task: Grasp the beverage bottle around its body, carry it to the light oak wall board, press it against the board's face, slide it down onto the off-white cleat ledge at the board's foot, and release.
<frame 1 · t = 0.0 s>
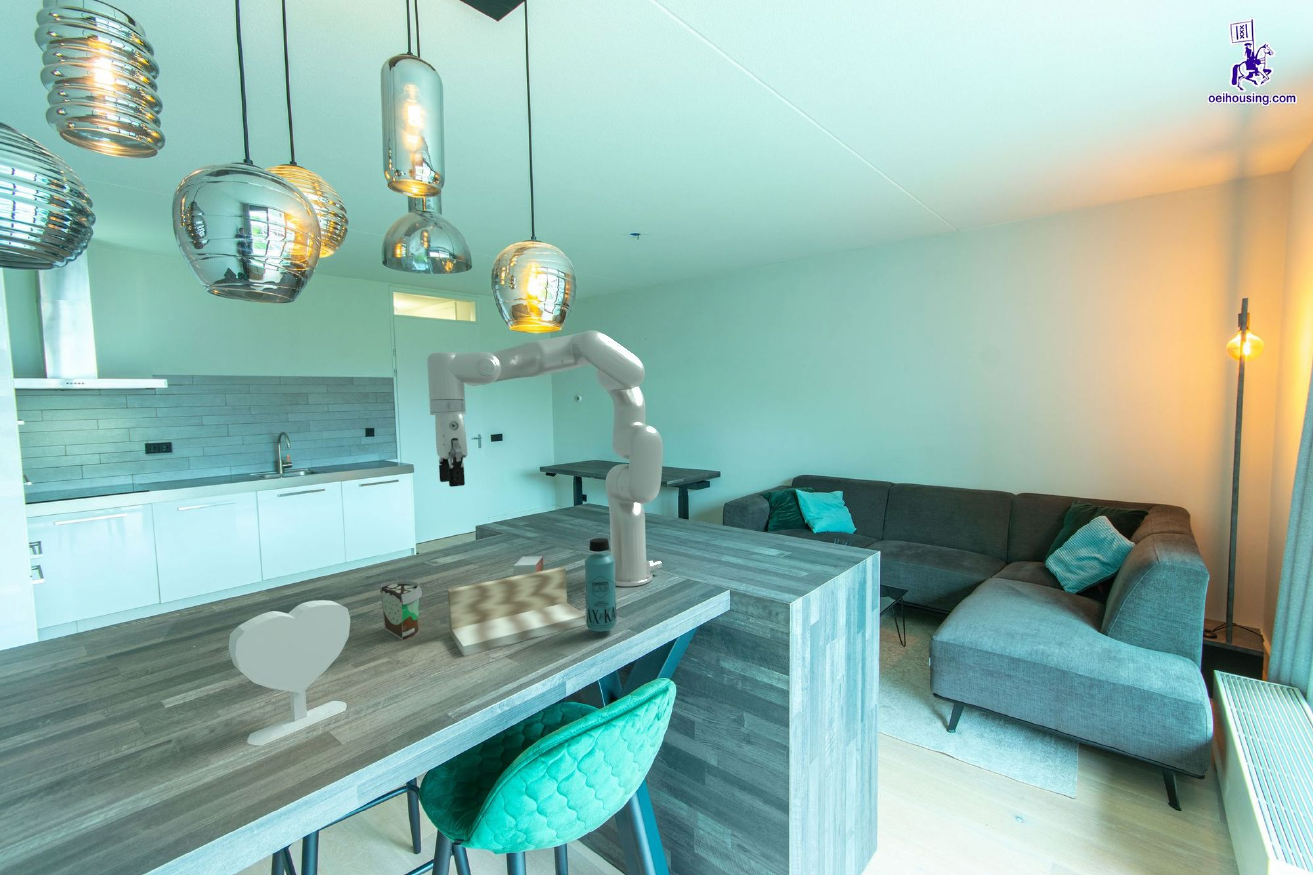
hand: (452, 483, 127), 31 cm above the kitchen island, tool pointing down, fingers open, 9 cm apart
food container: (407, 630, 123), on the kitchen island
small box: (530, 603, 138), on the kitchen island
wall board: (520, 631, 120), on the kitchen island
heart sculpture: (299, 722, 88), on the kitchen island
beverage bottle: (602, 633, 118), on the kitchen island
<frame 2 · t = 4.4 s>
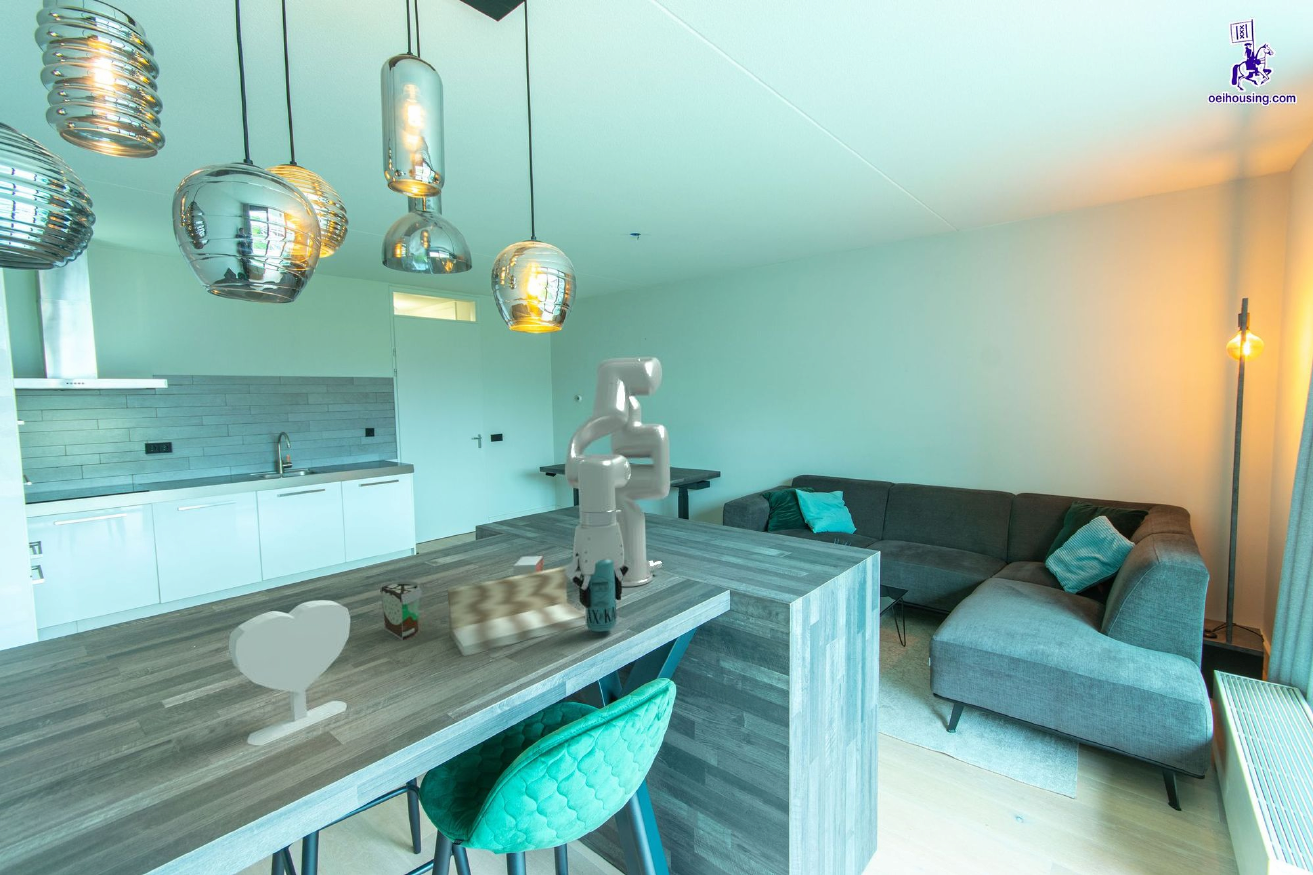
hand: (601, 601, 118), 7 cm above the kitchen island, tool pointing down, fingers closed on beverage bottle, 6 cm apart
beverage bottle: (602, 633, 118), on the kitchen island, touching gripper
everything else where it was.
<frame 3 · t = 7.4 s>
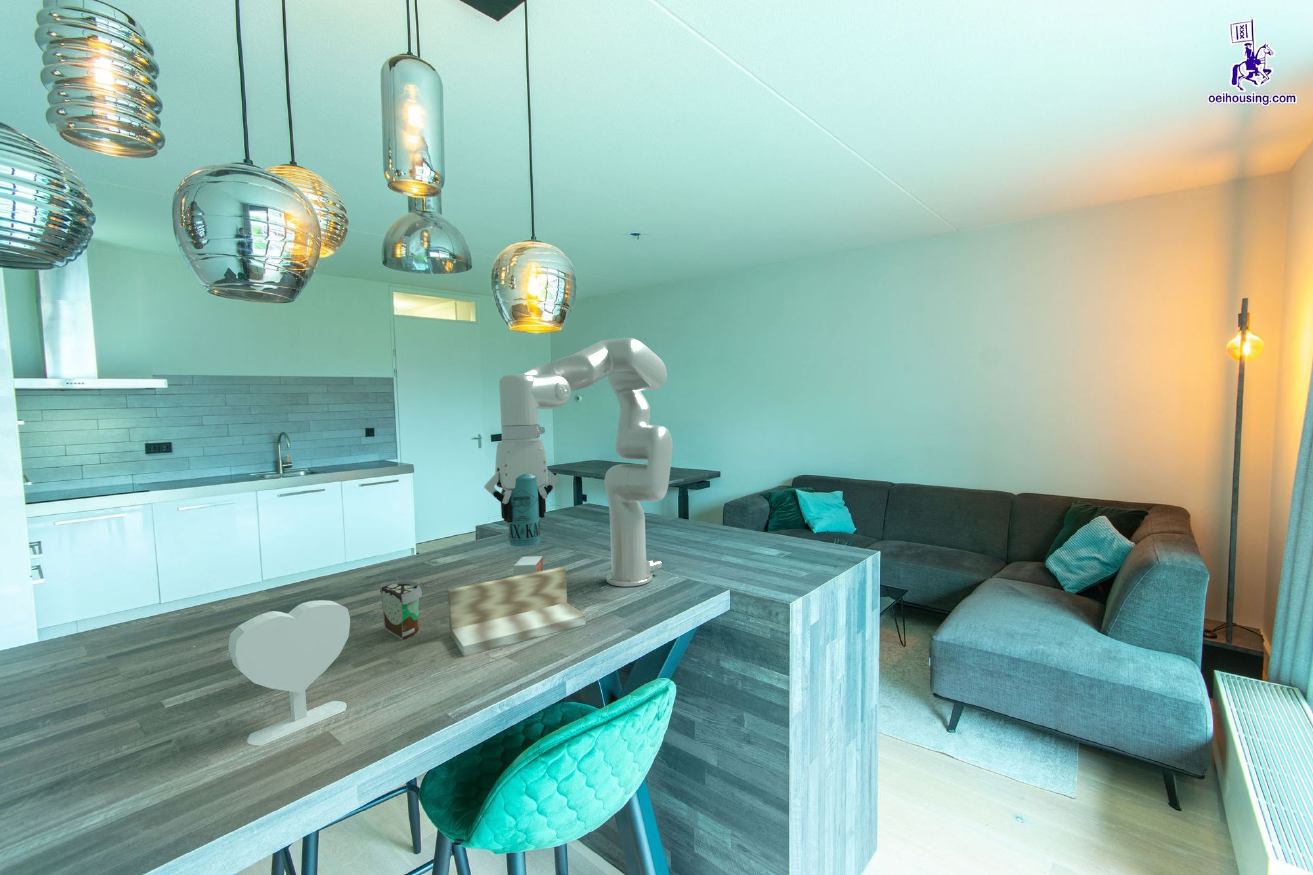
hand: (524, 518, 117), 25 cm above the kitchen island, tool pointing down, fingers closed on beverage bottle, 6 cm apart
beverage bottle: (525, 550, 118), point 18 cm above the kitchen island, touching gripper
everything else where it was.
when the fingers open (9 cm above the kitchen island, at t = 10.7 s): beverage bottle stays where it is, resting on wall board.
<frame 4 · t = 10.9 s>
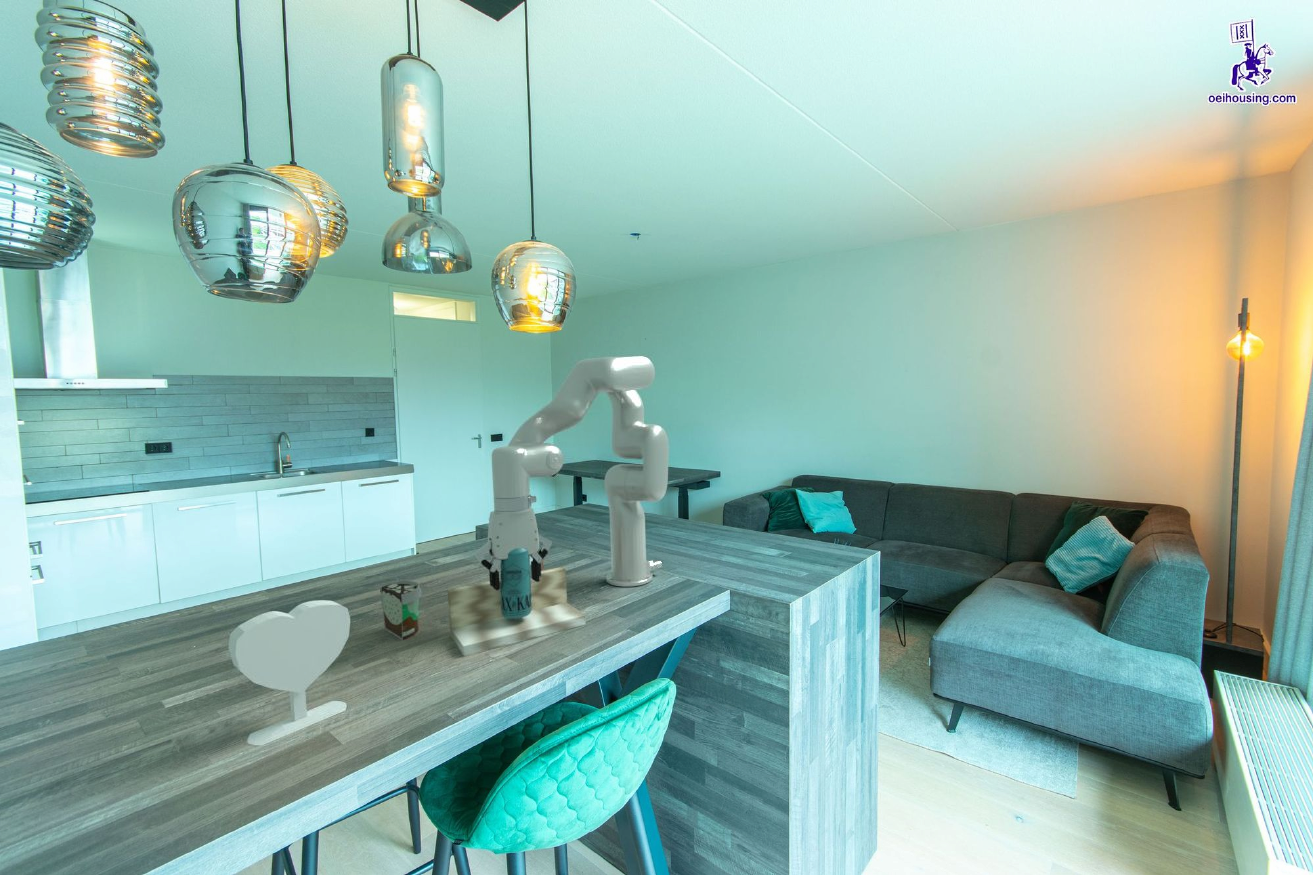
hand: (516, 584, 121), 10 cm above the kitchen island, tool pointing down, fingers open, 8 cm apart
beverage bottle: (517, 621, 121), point 2 cm above the kitchen island, touching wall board
everything else where it was.
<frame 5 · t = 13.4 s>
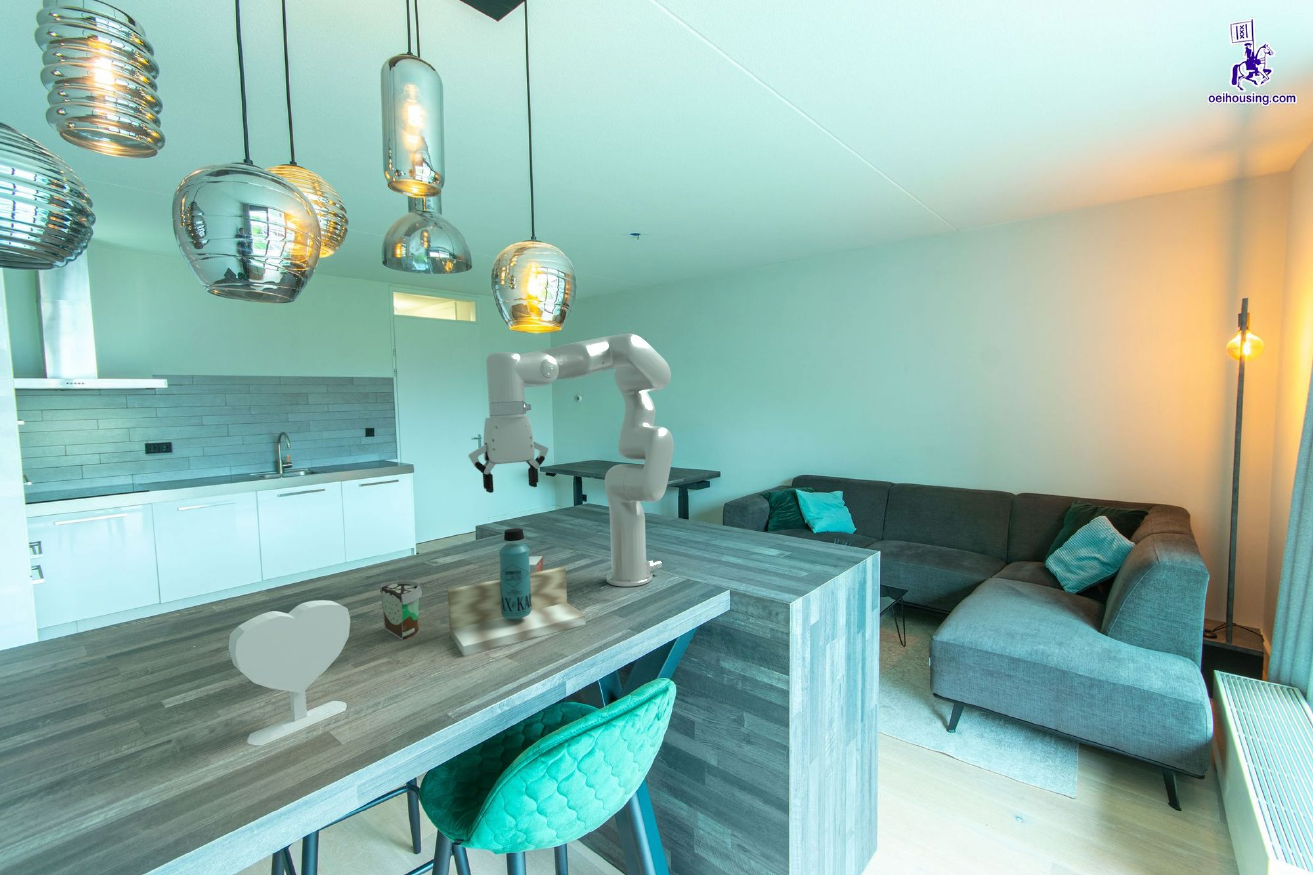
hand: (511, 489, 122), 30 cm above the kitchen island, tool pointing down, fingers open, 9 cm apart
nothing on the kitchen island moved.
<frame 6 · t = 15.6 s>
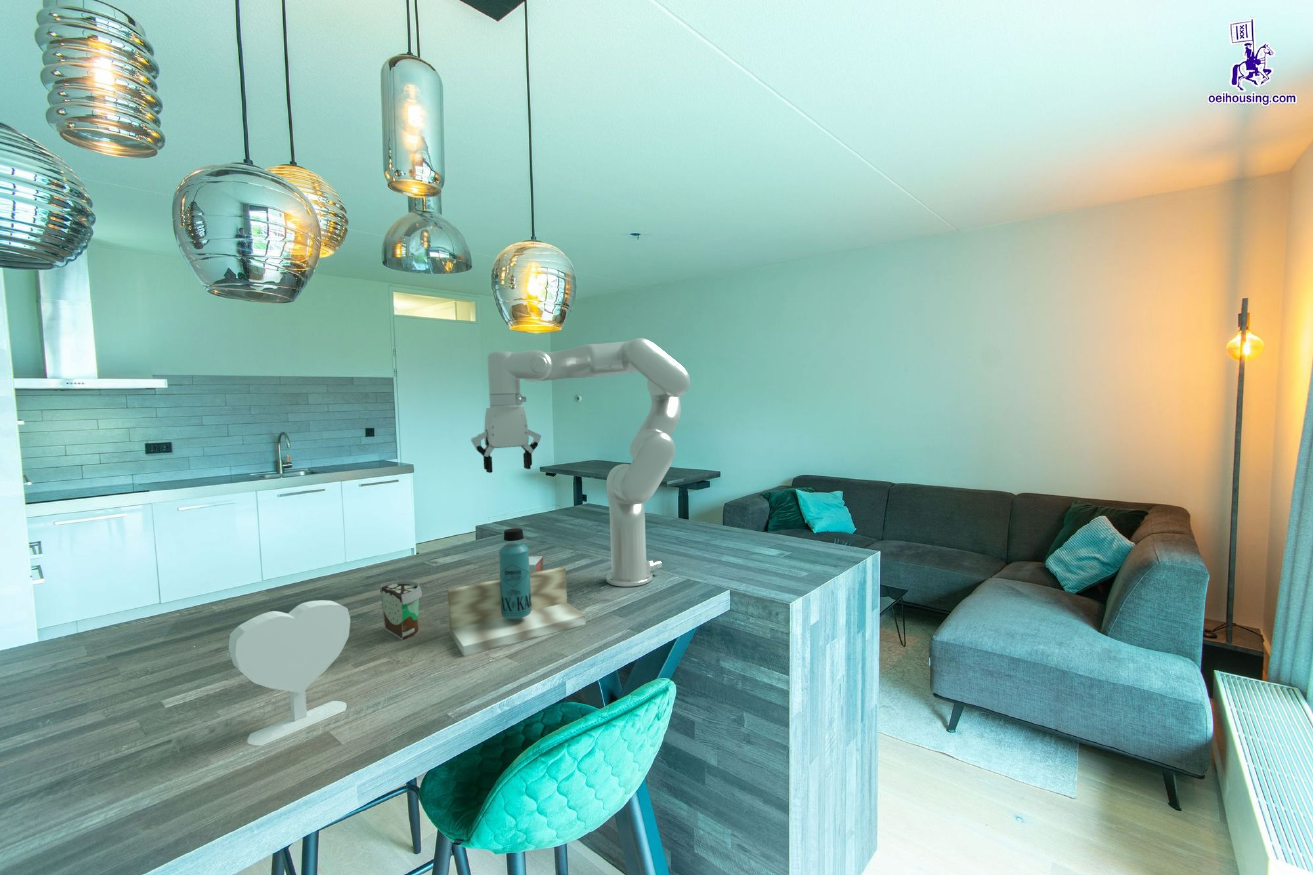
hand: (508, 470, 140), 32 cm above the kitchen island, tool pointing down, fingers open, 9 cm apart
nothing on the kitchen island moved.
at the end: beverage bottle inside the target area on the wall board (0.4 cm from its centre), point 1.8 cm above the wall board's base; beverage bottle tilted 0°; the gripper is holding nothing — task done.
